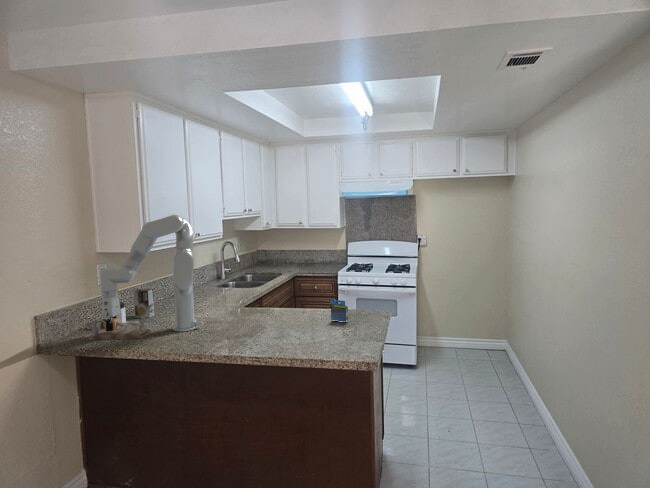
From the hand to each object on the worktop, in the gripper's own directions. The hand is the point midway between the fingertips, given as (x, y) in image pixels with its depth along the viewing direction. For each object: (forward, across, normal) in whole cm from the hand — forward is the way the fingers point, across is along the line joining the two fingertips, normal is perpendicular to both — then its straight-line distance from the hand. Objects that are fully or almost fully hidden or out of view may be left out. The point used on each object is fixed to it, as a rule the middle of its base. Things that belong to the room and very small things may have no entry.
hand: (112, 328), depth 211 cm
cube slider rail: (+4, 0, -4) cm, 5 cm away
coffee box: (+4, +38, -3) cm, 38 cm away
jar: (+4, +21, +6) cm, 22 cm away
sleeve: (0, 0, 0) cm, 0 cm away
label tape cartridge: (+4, +11, -116) cm, 116 cm away
